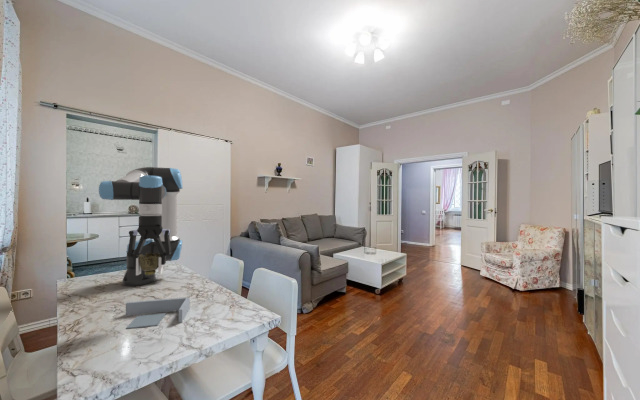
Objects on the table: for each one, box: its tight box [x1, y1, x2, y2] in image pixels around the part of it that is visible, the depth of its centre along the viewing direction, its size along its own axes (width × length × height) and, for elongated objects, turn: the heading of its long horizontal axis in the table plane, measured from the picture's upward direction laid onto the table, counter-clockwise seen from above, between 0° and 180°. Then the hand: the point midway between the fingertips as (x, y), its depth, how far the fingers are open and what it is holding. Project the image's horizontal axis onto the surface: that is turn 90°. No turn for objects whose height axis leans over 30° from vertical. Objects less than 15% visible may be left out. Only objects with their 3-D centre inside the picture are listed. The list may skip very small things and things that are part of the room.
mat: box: [125, 312, 167, 330], centre depth 97 cm, size 10×10×1 cm
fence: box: [125, 296, 191, 324], centre depth 99 cm, size 13×23×5 cm, turn 105°
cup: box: [139, 252, 161, 275], centre depth 98 cm, size 8×7×8 cm
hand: (149, 273), depth 98 cm, fingers closed on cup, 7 cm apart
